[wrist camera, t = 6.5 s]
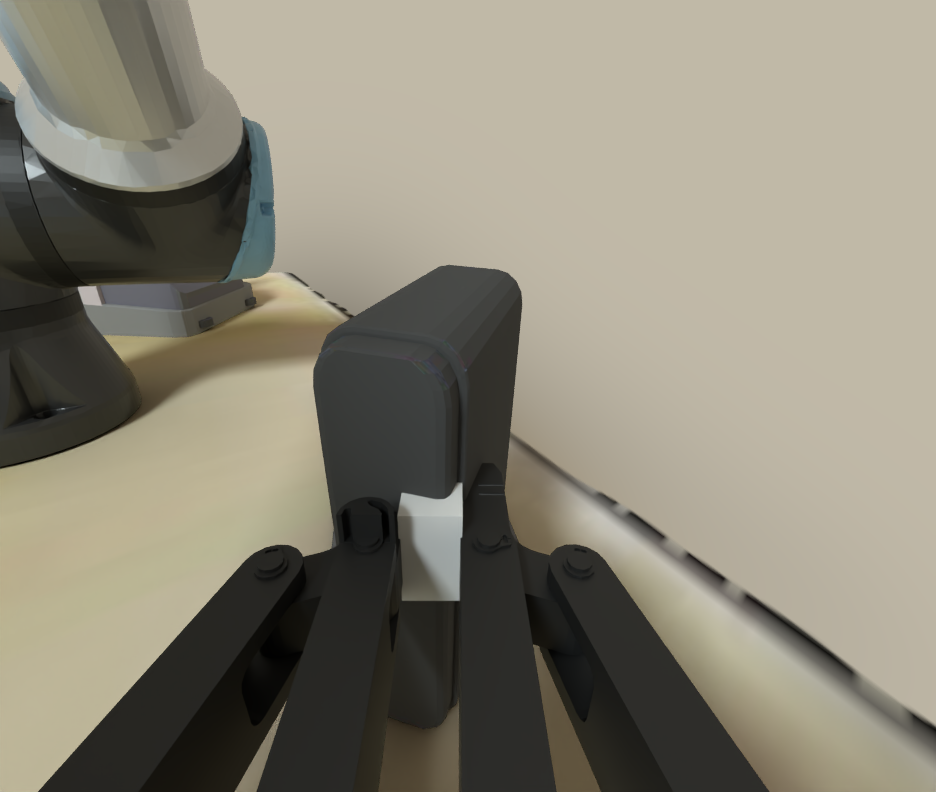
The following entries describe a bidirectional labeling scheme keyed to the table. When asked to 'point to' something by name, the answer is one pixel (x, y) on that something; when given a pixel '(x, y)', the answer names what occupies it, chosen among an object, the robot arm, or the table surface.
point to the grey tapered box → (164, 307)
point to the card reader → (421, 433)
